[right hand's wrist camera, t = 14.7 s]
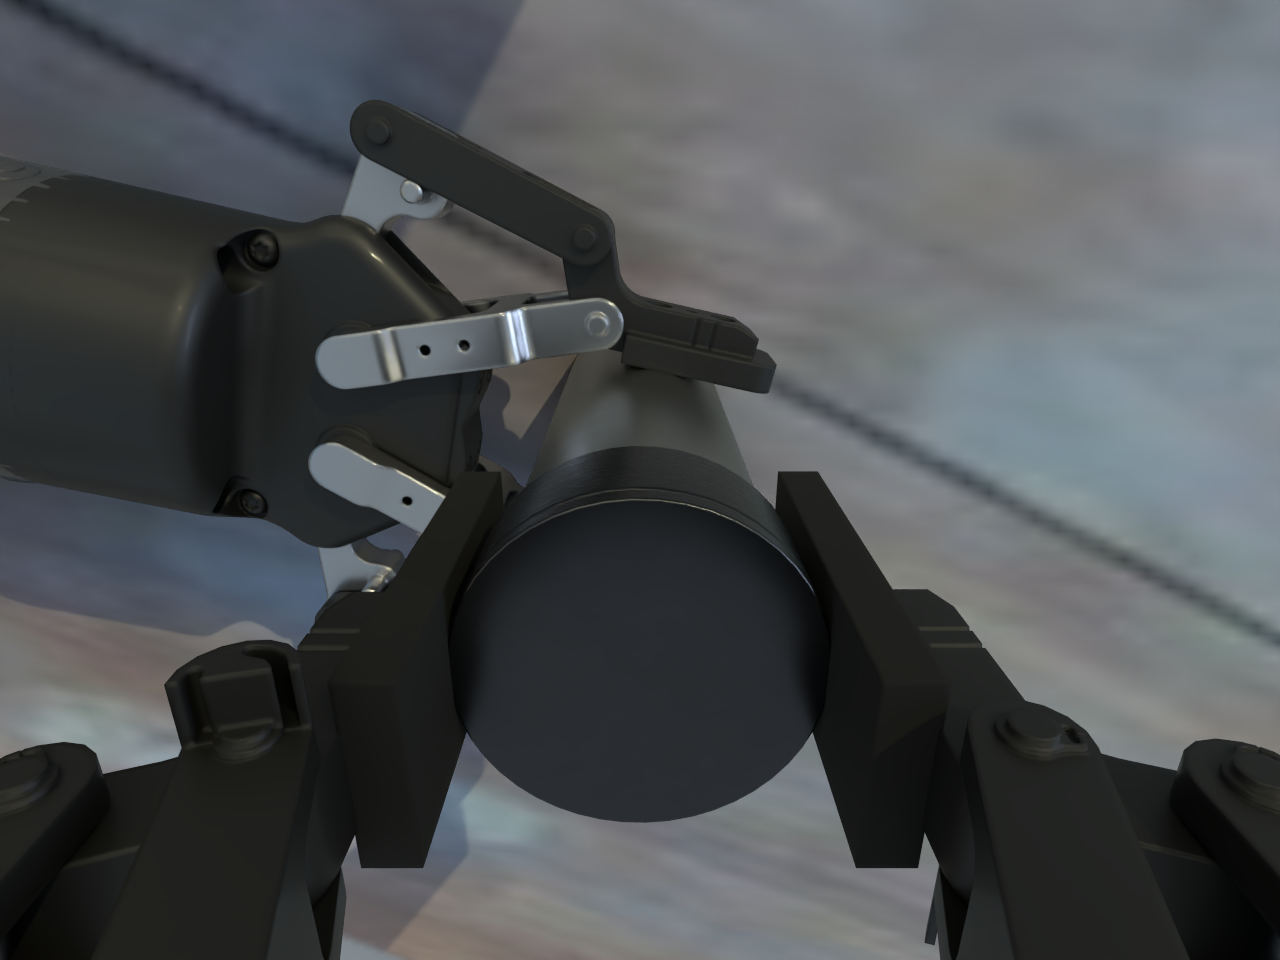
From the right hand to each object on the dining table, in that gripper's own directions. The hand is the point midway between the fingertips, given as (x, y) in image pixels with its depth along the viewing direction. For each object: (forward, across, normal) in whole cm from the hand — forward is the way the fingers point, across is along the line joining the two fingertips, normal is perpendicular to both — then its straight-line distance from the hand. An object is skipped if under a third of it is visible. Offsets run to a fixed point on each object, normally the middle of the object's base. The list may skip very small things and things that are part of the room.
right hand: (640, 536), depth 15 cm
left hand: (+5, -2, +1) cm, 6 cm away
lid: (-4, 0, 0) cm, 4 cm away
